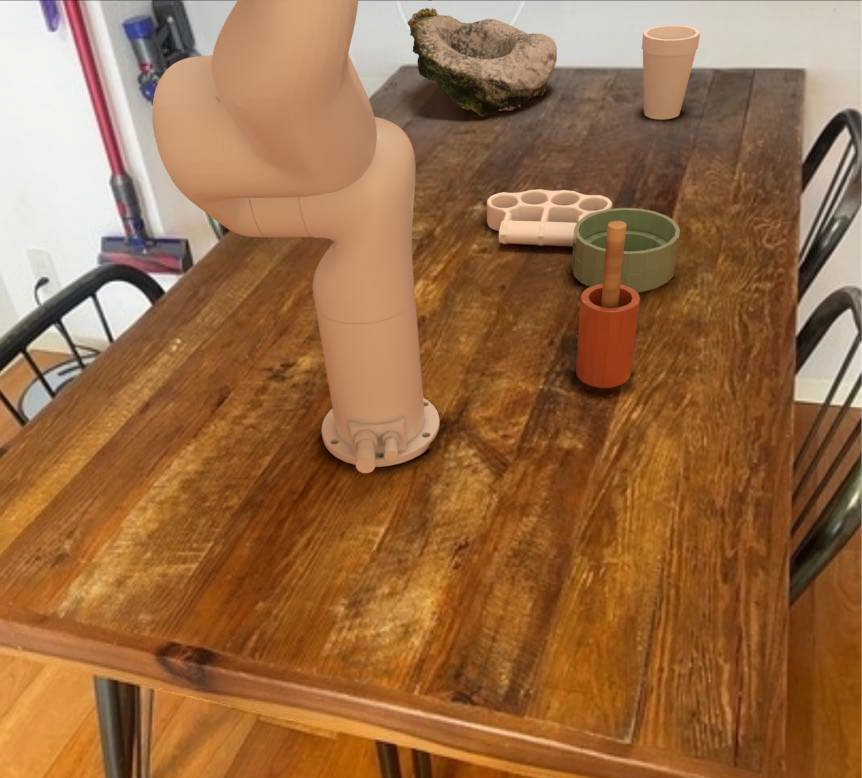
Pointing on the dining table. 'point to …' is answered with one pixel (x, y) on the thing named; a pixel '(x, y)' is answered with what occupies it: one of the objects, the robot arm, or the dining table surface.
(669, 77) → the foam cup
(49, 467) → the dining table surface
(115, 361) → the dining table surface
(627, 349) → the crock
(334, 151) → the robot arm
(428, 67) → the stone basin
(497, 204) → the white brass knuckles
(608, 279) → the paddle
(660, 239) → the bowl
